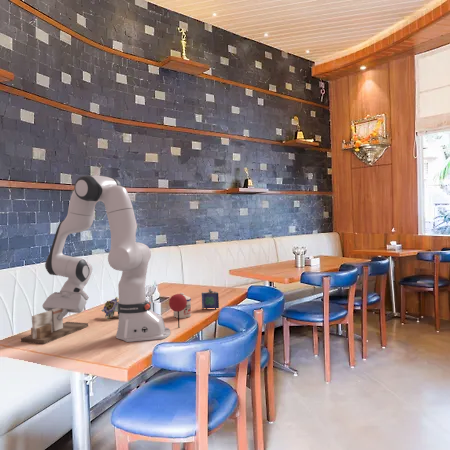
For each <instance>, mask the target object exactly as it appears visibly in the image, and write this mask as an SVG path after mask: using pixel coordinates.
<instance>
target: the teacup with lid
mask: <svg viewBox="0 0 450 450" xmlns="http://www.w3.org/2000/svg"><path fill="white" fill-rule="evenodd" d="M179 294H181V295H183V296H184V297H185V298H186V300H187V305H186V307H185V309H184V310H182V311H179V319H186V317H188V318H190V317H192V303H191V302H192V301H191V300H192V298H191V296H187V295H185V293H184V292H180V293H179ZM175 317H176V318H175ZM173 318H175V319H178V312H176V311H173Z"/></svg>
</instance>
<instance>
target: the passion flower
mask: <svg viewBox="0 0 450 450" xmlns="http://www.w3.org/2000/svg"><path fill="white" fill-rule="evenodd" d="M118 303H119V297H118V296H115V298H114V299H110V300H106V302H105V304H104V307H103V309H102V310H101V312H104V313H105V315H104V316H105V318H106V319H107V320H109V319H110V318H113V317H114V316H115V313H116V312H117V313H118Z"/></svg>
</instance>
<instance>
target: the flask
mask: <svg viewBox="0 0 450 450" xmlns="http://www.w3.org/2000/svg"><path fill="white" fill-rule="evenodd" d="M219 297H220V296H219V292H218V291H213V290H212V289H211V288H209V289H208V291H204V292H203V291H202V292H201V309H202V308H215V309H216V308H219V309H220V301H219V300H220V299H219Z"/></svg>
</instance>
